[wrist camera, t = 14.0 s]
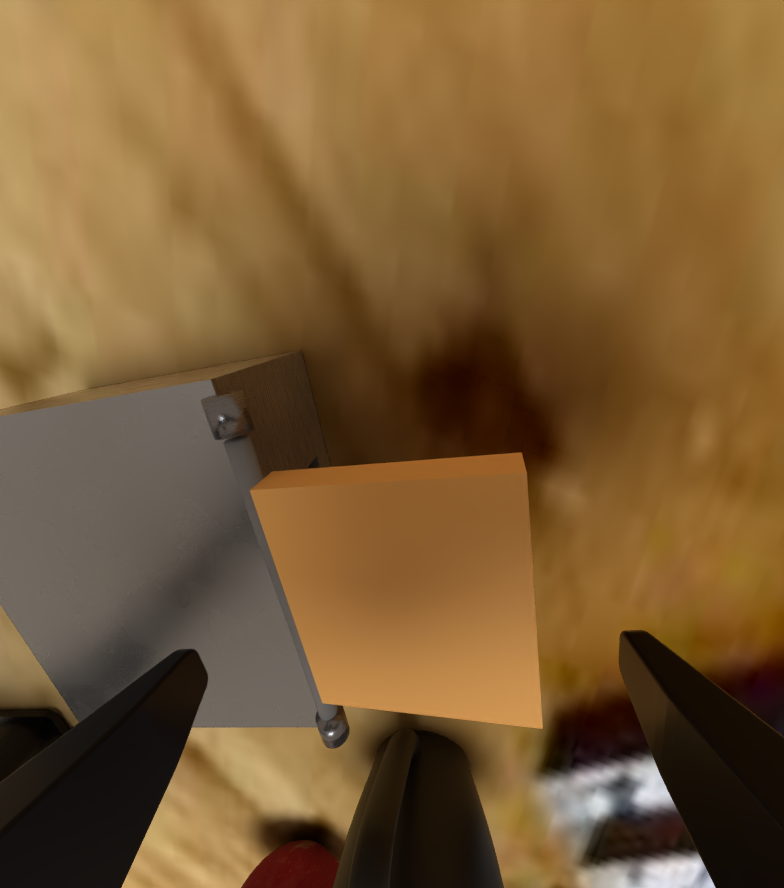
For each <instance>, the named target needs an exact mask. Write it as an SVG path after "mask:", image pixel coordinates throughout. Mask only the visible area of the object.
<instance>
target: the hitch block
mask: <svg viewBox="0 0 784 888" xmlns="http://www.w3.org/2000/svg"><path fill="white" fill-rule="evenodd" d="M241 435H250V438H251V441H252V444H253V447H254V450H255V453H256V456H257V459H258V462H259V465H260V468H261V471H262V475H263V478H265V477H266V476H267V475H269V474H270V473H271V472H272V471H285V470H299V469H312V468H325V467H331V466H330V462H329V458H328V454H327V450H326V446H325V442H324V438H323V434H322V430H321V426H320V422H319V418H318V414H317V411H316V407H315V403H314V399H313V395H312V391H311V387H310V383H309V379H308V375H307V371H306V367H305V363H304V359H303V355H302V352H301V350H300V351H295V352H289V353H284V354H278V355H273V356H267V357H262V358H256V359H251V360H245V361H240V362H234V363H229V364H223V365H218V366H212V367H206V368H201V369H195V370H190V371H184V372H179V373H173V374H168V375H162V376H157V377H151V378H146V379H140V380H135V381H129V382H124V383H118V384H113V385H107V386H102V387H96V388H91V389H85V390H81V391H77V392H73V393H68V394H64V395H60V396H56V397H51V398H47V399H43V400H39V401H34V402H30V403H26V404H22V405H17V406H13V407H9V408H5V409H0V605H1V606H2V608H3V609H4V611H5V612H6V614H7V615H8V617H9V618H10V620H11V621H12V623H13V624H14V626H15V627H16V629H17V630H18V632H19V633H20V635H21V636H22V638H23V639H24V641H25V642H26V644H27V645H28V647H29V648H30V650H31V651H32V653H33V654H34V656H35V657H36V659H37V660H38V662H39V663H40V665H41V666H42V667H43V669H44V670H45V672H46V673H47V675H48V676H49V678H50V679H51V681H52V682H53V684H54V685H55V687H56V688H57V690H58V691H59V693H60V694H61V696H62V697H63V699H64V700H65V702H66V703H67V705H68V706H69V708H70V709H71V711H72V712H73V714H74V715H75V717H76V718H77V720H78V721H79V723H80V722H81V721H82V720H84V719H85V718H86V717H88V716H89V715H90V714H92V713H93V712H94V711H96V710H97V709H98V708H100V707H101V706H102V705H104V704H105V703H106V702H108V701H109V700H110V699H112V698H113V697H114V696H116V695H117V694H118V693H120V692H121V691H122V690H124V689H125V688H126V687H127V686H129V685H130V684H131V683H133V682H134V681H135V680H137V679H138V678H139V677H141V676H142V675H143V674H145V673H146V672H147V671H149V670H150V669H151V668H153V667H154V666H155V665H157V664H158V663H159V662H161V661H162V660H163V659H165V658H166V657H167V656H169V655H170V654H171V653H173V652H174V651H176V650H179V649H195V650H196V651H197V652H198V653H199V656H200V658H201V660H202V662H203V664H204V666H205V668H206V670H207V673H208V684H207V687H206V690H205V693H204V695H203V698H202V701H201V703H200V706H199V709H198V712H197V714H196V717H195V720H194V722H193V725H192V727H318V730H319V732H320V735H321V738H322V741H323V743H324V745H325V746H326V747H328V748H337V747H339V746H341V745H342V744H343V743H344V742H345V741H346V739H347V738H348V735H349V724H348V721H347V718H346V715H345V712H344V709H343V706H342V705H337V706H338V710H337V713H336V715H335V716H334V717H333V718H332V719H330V720H327V721H324V720H322V719H321V718H320V717H319V714H318V711H317V708H316V705H315V702H314V700H313V697H312V694H311V691H310V688H309V685H308V683H307V680H306V677H305V674H304V671H303V668H302V666H301V663H300V660H299V657H298V654H297V651H296V648H295V646H294V643H293V640H292V637H291V634H290V631H289V629H288V626H287V623H286V620H285V617H284V614H283V611H282V609H281V606H280V603H279V600H278V597H277V594H276V592H275V589H274V586H273V583H272V580H271V577H270V575H269V572H268V569H267V566H266V563H265V560H264V557H263V555H262V552H261V549H260V546H259V543H258V540H257V538H256V535H255V532H254V529H253V526H252V523H251V521H250V518H249V515H248V512H247V509H246V506H245V503H244V501H243V498H242V495H241V492H240V489H239V486H238V484H237V481H236V478H235V475H234V472H233V469H232V467H231V464H230V461H229V458H228V455H227V452H226V449H225V447H224V444H223V442H224V441H225V440H227V439H230V438H234V437H238V436H241Z"/></svg>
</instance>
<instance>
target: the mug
mask: <svg viewBox="0 0 784 888" xmlns="http://www.w3.org/2000/svg"><path fill="white" fill-rule="evenodd" d="M333 888H504V886H503V882H502V878H501V874H500V869H499V865H498V861H497V857H496V853H495V849H494V846H493V842H492V838H491V835H490V831H489V827H488V824H487V821H486V818H485V814H484V811H483V808H482V805H481V802H480V799H479V796H478V793H477V790H476V786H475V783H474V780H473V777H472V774H471V770H470V765H469V762H468V759H467V757H466V755H465V753H464V752H463V751H462V749H461V748H460V747H459V746H458V745H456V744H455V743H454V742H452V741H451V740H449V739H447V738H445V737H443V736H440V735H437V734H434V733H429V732H423V731H413V730H410V729H407V728H405V729H402V730H399V731H398V732H397V733H396V734H395V735H393V736H391V737H389V738H388V739H387V740H386V741H384V742H383V743H382V745H381V746H380V748H379V750H378V753H377V756H376V759H375V762H374V765H373V767H372V770H371V772H370V775H369V777H368V780H367V782H366V785H365V787H364V790H363V792H362V795H361V797H360V800H359V803H358V805H357V808H356V811H355V814H354V817H353V820H352V823H351V826H350V828H349V831H348V835H347V838H346V841H345V845H344V848H343V852H342V855H341V858H340V862H339V866H338V870H337V874H336V878H335V881H334V885H333Z"/></svg>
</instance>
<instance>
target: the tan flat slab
mask: <svg viewBox="0 0 784 888" xmlns="http://www.w3.org/2000/svg"><path fill="white" fill-rule="evenodd" d="M223 444H224V447H225V449H226V452H227V455H228V458H229V461H230V464H231V467H232V469H233V472H234V475H235V478H236V481H237V484H238V486H239V489H240V492H241V495H242V498H243V501H244V503H245V506H246V509H247V512H248V515H249V518H250V521H251V523H252V526H253V529H254V532H255V535H256V538H257V540H258V543H259V546H260V549H261V552H262V555H263V557H264V560H265V563H266V566H267V569H268V572H269V575H270V577H271V580H272V583H273V586H274V589H275V592H276V594H277V597H278V600H279V603H280V606H281V609H282V611H283V614H284V617H285V620H286V623H287V626H288V629H289V631H290V634H291V637H292V640H293V643H294V646H295V648H296V651H297V654H298V657H299V660H300V663H301V666H302V668H303V671H304V674H305V677H306V680H307V683H308V685H309V688H310V691H311V694H312V697H313V700H314V702H315V705H316V708H317V711H318V714H319V717H320V718H321V719H322V720H324V721H327V720H330V719H332V718H333V717H334V716H335V715H336V713H337V710H338V706H337V705H342V706H350V707H359V708H368V709H376V710H385V711H394V712H402V713H411V714H420V715H428V716H437V717H446V718H454V719H463V720H471V721H480V722H489V723H497V724H506V725H515V726H523V727H532V728H541V729H543V726H542V710H541V693H540V677H539V661H538V645H537V628H536V612H535V596H534V580H533V563H532V547H531V531H530V515H529V498H528V482H527V471H526V468H525V464H524V460H523V456H522V452H521V453H508V454H495V455H482V456H469V457H456V458H443V459H429V460H416V461H403V462H390V463H377V464H364V465H351V466H338V467H325V468H312V469H299V470H285V471H272V472H271V473H270V474H269V475H267V476H266V477H265V478H263V475H262V471H261V468H260V465H259V462H258V459H257V456H256V453H255V450H254V447H253V444H252V441H251V438H250V435H241V436H238V437H234V438H230V439H227V440H225V441H224V442H223Z"/></svg>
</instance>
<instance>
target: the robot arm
mask: <svg viewBox="0 0 784 888" xmlns="http://www.w3.org/2000/svg"><path fill="white" fill-rule="evenodd" d="M619 668H620V672H621V675H622V678H623V680H624V683H625V686H626V688H627V691H628V693H629V696H630V698H631V701H632V704H633V706H634V709H635V711H636V714H637V716H638V719H639V722H640V724H641V727H642V729H643V732H644V734H645V737H646V740H647V742H648V745H649V747H650V750H651V752H652V755H653V758H654V760H655V762H656V765H657V767H658V770H659V772H660V775H661V777H662V779H663V781H664V783H665V785H666V787H667V790H668V792H669V794H670V796H671V798H672V800H673V802H674V804H675V806H676V808H677V810H678V812H679V814H680V816H681V818H682V820H683V822H684V824H685V826H686V828H687V830H688V832H689V834H690V836H691V838H692V840H693V843H694V845H695V847H696V849H697V851H698V853H699V855H700V857H701V859H702V861H703V863H704V865H705V867H706V869H707V871H708V873H709V875H710V877H711V879H712V881H713V883H714V885H715V887H716V888H784V737H783V736H782V735H781V734H780V733H778V732H777V731H776V730H774V729H773V728H772V727H770V726H769V725H768V724H767V723H765V722H764V721H763V720H761V719H760V718H759V717H757V716H756V715H755V714H754V713H752V712H751V711H750V710H748V709H747V708H746V707H745V706H743V705H742V704H741V703H739V702H738V701H737V700H735V699H734V698H733V697H732V696H730V695H729V694H728V693H726V692H725V691H724V690H722V689H721V688H720V687H719V686H717V685H716V684H715V683H713V682H712V681H711V680H709V679H708V678H707V677H706V676H704V675H703V674H702V673H700V672H699V671H698V670H696V669H695V668H694V667H693V666H691V665H690V664H689V663H687V662H686V661H685V660H683V659H682V658H681V657H680V656H678V655H677V654H676V653H674V652H673V651H672V650H670V649H669V648H668V647H667V646H665V645H664V644H663V643H661V642H660V641H659V640H658V639H656V638H655V637H654V636H652V635H651V634H650V633H648V632H646V631H644V630H630V631H622V632H621V634H620V643H619ZM207 684H208V673H207V670H206V668H205V666H204V664H203V662H202V660H201V658H200V656H199V653H198V652H197V651H196V650H195V649H179V650H176V651H174V652H173V653H171V654H170V655H169V656H167V657H166V658H165V659H163V660H162V661H161V662H159V663H158V664H157V665H155V666H154V667H153V668H151V669H150V670H149V671H147V672H146V673H145V674H143V675H142V676H141V677H139V678H138V679H137V680H135V681H134V682H133V683H131V684H130V685H129V686H127V687H126V688H125V689H124V690H122V691H121V692H120V693H118V694H117V695H116V696H114V697H113V698H112V699H110V700H109V701H108V702H106V703H105V704H104V705H102V706H101V707H100V708H98V709H97V710H96V711H94V712H93V713H92V714H90V715H89V716H88V717H86V718H85V719H84V720H82V721H81V722H80V723H78V724H77V725H76V726H74V727H73V728H72V729H70V730H68V728H67V727H66V725H65V724H64V722H63V721H62V719H61V718H60V716H59V715H58V714H57V713H56V712H54V711H50V710H33V711H0V888H121V887H122V885H123V883H124V880H125V878H126V876H127V874H128V872H129V870H130V867H131V865H132V863H133V861H134V859H135V856H136V854H137V852H138V850H139V848H140V846H141V843H142V841H143V839H144V837H145V835H146V833H147V830H148V828H149V826H150V824H151V822H152V820H153V817H154V815H155V813H156V811H157V809H158V806H159V804H160V802H161V800H162V798H163V796H164V793H165V791H166V789H167V787H168V785H169V783H170V780H171V778H172V776H173V774H174V771H175V769H176V767H177V764H178V762H179V759H180V757H181V754H182V752H183V749H184V746H185V744H186V741H187V738H188V736H189V733H190V730H191V728H192V725H193V722H194V720H195V717H196V714H197V712H198V709H199V706H200V703H201V701H202V698H203V695H204V693H205V690H206V687H207Z"/></svg>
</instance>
